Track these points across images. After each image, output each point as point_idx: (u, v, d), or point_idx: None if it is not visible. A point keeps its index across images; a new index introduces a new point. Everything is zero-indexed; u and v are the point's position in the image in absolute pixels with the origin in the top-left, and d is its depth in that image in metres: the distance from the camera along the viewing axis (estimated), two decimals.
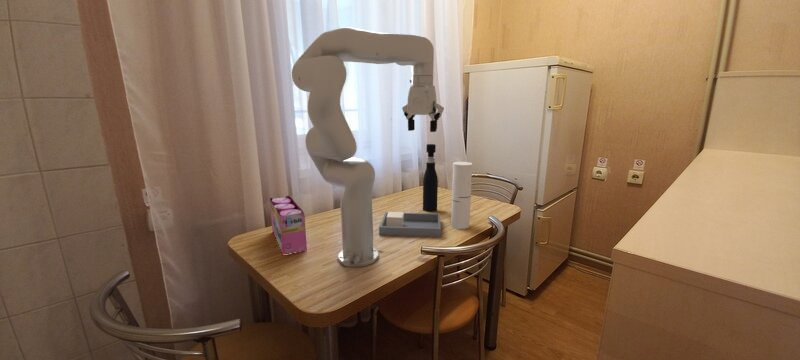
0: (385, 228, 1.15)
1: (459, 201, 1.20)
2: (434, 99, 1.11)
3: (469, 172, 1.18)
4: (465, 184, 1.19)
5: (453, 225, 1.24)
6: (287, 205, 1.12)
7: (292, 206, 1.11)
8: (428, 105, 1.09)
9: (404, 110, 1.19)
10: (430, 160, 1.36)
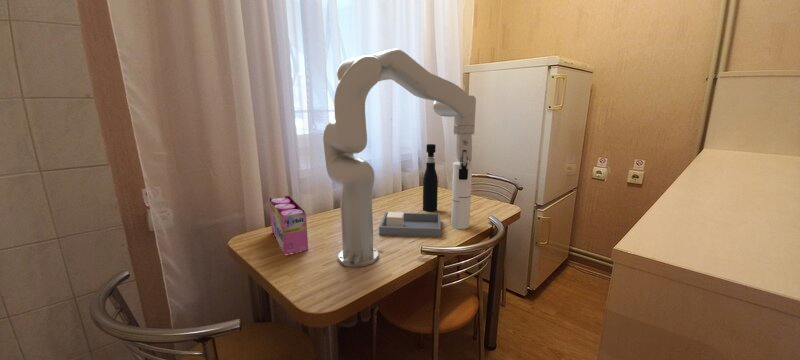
0: (385, 228, 1.15)
1: (459, 201, 1.20)
2: None
3: (469, 172, 1.18)
4: (465, 184, 1.19)
5: (453, 225, 1.24)
6: (287, 205, 1.12)
7: (292, 206, 1.11)
8: None
9: None
10: (430, 160, 1.36)
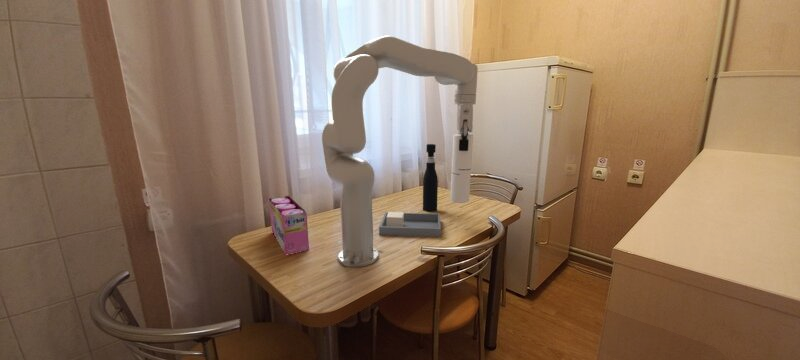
0: (385, 228, 1.15)
1: (459, 173, 1.18)
2: None
3: (470, 143, 1.16)
4: (466, 156, 1.16)
5: (452, 199, 1.21)
6: (287, 205, 1.12)
7: (293, 206, 1.11)
8: None
9: (467, 131, 1.11)
10: (430, 160, 1.36)
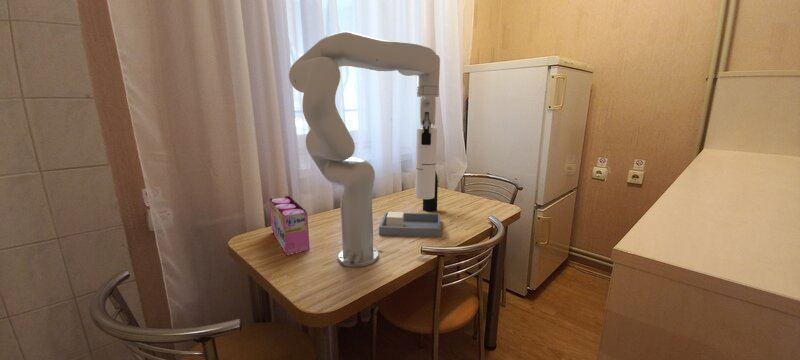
0: (385, 228, 1.15)
1: (422, 168, 1.13)
2: None
3: (433, 137, 1.11)
4: (429, 150, 1.11)
5: (417, 195, 1.17)
6: (288, 205, 1.12)
7: (293, 206, 1.11)
8: None
9: (428, 124, 1.06)
10: None
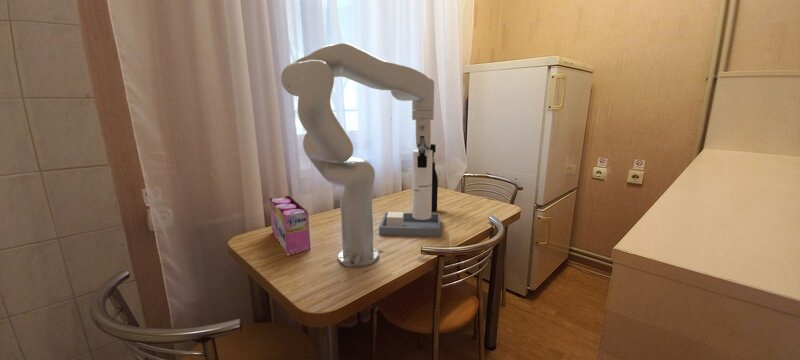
0: (385, 228, 1.15)
1: (419, 190, 1.15)
2: None
3: (429, 159, 1.13)
4: (425, 172, 1.13)
5: (414, 216, 1.19)
6: (288, 205, 1.12)
7: (294, 206, 1.11)
8: None
9: (423, 148, 1.08)
10: None
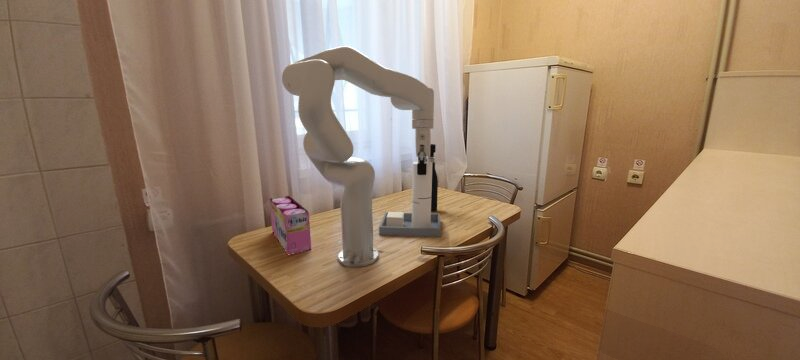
0: (385, 228, 1.15)
1: (418, 202, 1.16)
2: None
3: (428, 172, 1.14)
4: (425, 184, 1.14)
5: None
6: (289, 205, 1.12)
7: (294, 206, 1.11)
8: None
9: (423, 155, 1.07)
10: (430, 160, 1.36)
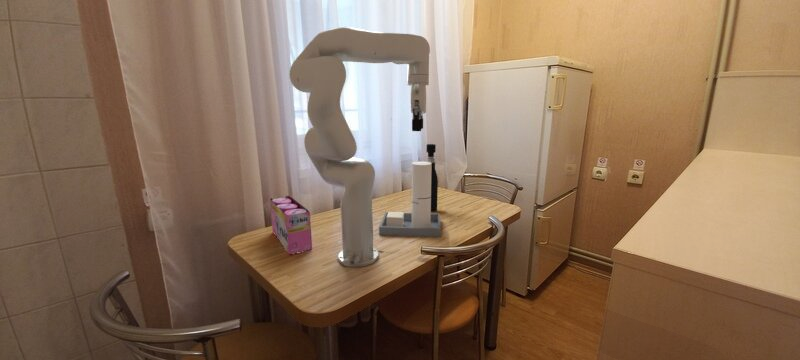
0: (385, 228, 1.15)
1: (418, 202, 1.16)
2: None
3: (428, 172, 1.14)
4: (424, 184, 1.14)
5: None
6: (289, 205, 1.12)
7: (295, 206, 1.11)
8: None
9: (417, 109, 1.07)
10: (430, 160, 1.36)
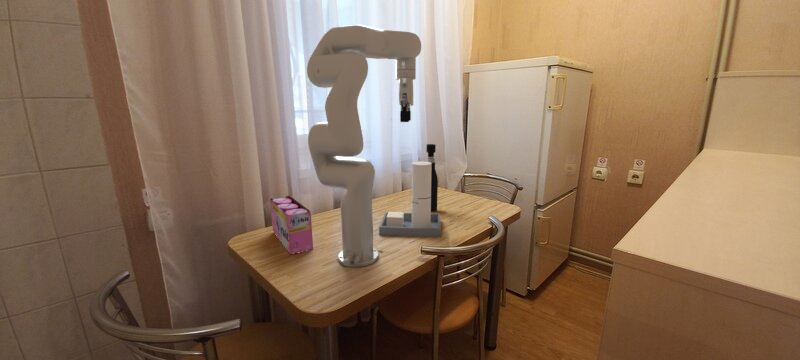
0: (385, 228, 1.15)
1: (418, 202, 1.16)
2: None
3: (428, 172, 1.14)
4: (424, 184, 1.14)
5: None
6: (290, 205, 1.12)
7: (295, 206, 1.11)
8: None
9: (405, 102, 1.16)
10: (430, 160, 1.36)
